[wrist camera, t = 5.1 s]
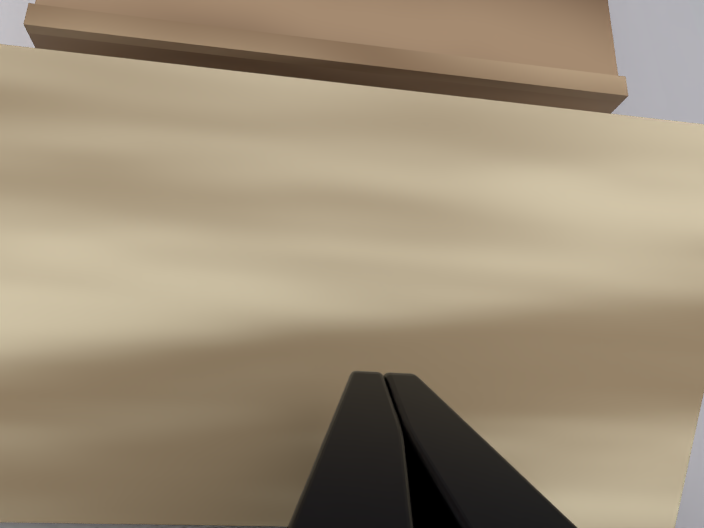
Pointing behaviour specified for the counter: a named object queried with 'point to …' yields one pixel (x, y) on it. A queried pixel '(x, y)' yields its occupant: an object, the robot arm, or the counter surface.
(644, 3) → the counter surface
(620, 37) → the counter surface
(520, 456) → the oak plank
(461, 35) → the wooden molding strip
